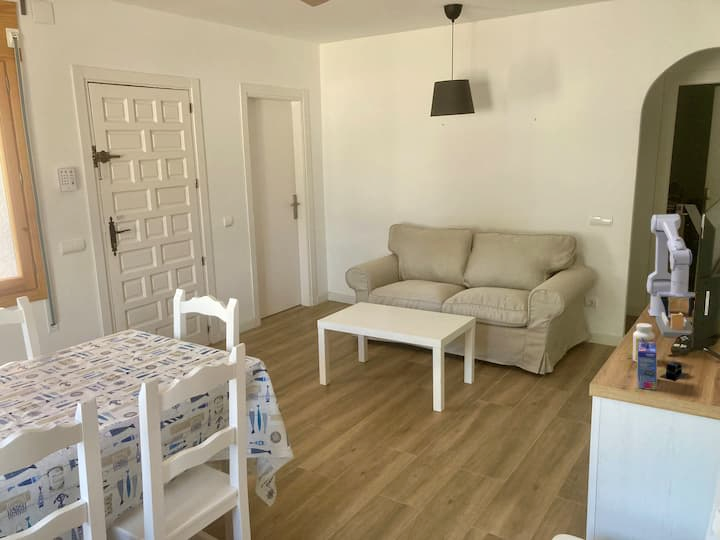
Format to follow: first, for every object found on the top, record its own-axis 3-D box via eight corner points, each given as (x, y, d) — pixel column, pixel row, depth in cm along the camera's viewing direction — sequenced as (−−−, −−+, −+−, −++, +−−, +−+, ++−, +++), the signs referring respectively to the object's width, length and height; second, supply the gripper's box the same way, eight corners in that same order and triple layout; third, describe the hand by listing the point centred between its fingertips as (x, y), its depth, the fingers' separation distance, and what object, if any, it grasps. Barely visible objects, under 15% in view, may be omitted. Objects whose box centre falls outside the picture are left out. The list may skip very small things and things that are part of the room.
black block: (674, 385, 176) (675, 371, 175) (651, 378, 182) (652, 365, 181) (695, 374, 183) (695, 361, 182) (671, 368, 188) (672, 355, 188)
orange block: (670, 326, 223) (671, 313, 222) (682, 326, 222) (682, 314, 221) (671, 329, 220) (672, 316, 219) (683, 329, 218) (684, 316, 217)
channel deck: (655, 320, 237) (656, 311, 237) (685, 321, 234) (686, 312, 233) (663, 337, 217) (663, 327, 217) (696, 338, 213) (696, 328, 213)
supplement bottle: (657, 364, 192) (659, 327, 189) (637, 365, 192) (638, 328, 189) (648, 357, 198) (649, 321, 196) (629, 358, 198) (629, 322, 196)
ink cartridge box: (636, 376, 183) (637, 333, 180) (655, 378, 180) (657, 334, 178) (636, 388, 174) (637, 343, 171) (657, 390, 172) (658, 344, 169)
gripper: (659, 283, 215) (658, 318, 217) (703, 284, 210) (702, 319, 212) (657, 279, 221) (656, 313, 224) (700, 280, 216) (698, 314, 219)
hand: (678, 316), depth 218 cm, fingers open, 7 cm apart
